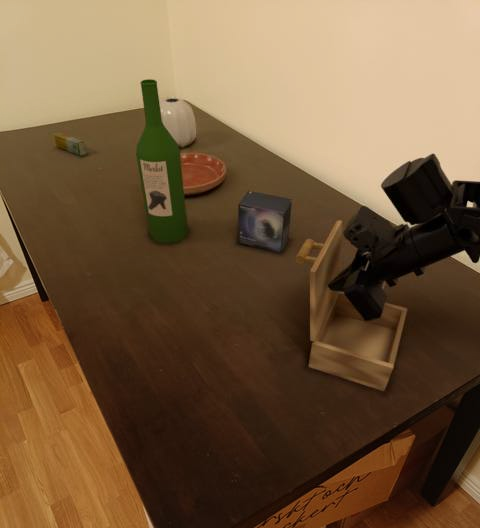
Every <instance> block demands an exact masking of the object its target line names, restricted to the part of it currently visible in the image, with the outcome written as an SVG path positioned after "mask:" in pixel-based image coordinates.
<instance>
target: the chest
mask: <svg viewBox="0 0 480 528" xmlns="http://www.w3.org/2000/svg"><path fill="white" fill-rule="evenodd" d="M407 312H408V308H407V307H403V306H400V305H397V304H396V305H395V304H392V303H388V302H385V305H384V308H383V311H382V314H381V317H380V318H378V319H375V320H372V321H369V322H367V321H365V320H364V319H363V317H362V316H361V315H360V314H359V312H358V311H357V310H356V308H355V307H354V306H353V305H352V303H351V302H350V301H349V300H348V298H347V297H346V296H345V294H344V292H340V291H337V292H336V295H335V297H334V299H333V302H332V304H331V306H330V308H329V311H328V313H327V315H326V318H325V320H324V322H323V325H322V327H321V329H320V331H319V334H318V336H317V338H316V341H315V342H313V341H312V343H311V349H310V354H309V360H308V366H307V367H308V368H310V369H314V370H317V371H320V372H323V373H325V374H328V375H332V376H335V377H339V378H341V379H344V380H348V381H350V382H354V383H356V384H360V385H362V386H366V387H369V388H372V389H375V390H378V391H381V392H385V391H386V389H387V386H388V383H389V381H390V379H391V375H392V373H393V371H394V366H395V363H396V358H397V356H398V355H397V354H398V351H399V346H400V342H401V338H402V334H403V329H404V326H405V322H406V317H407Z"/></svg>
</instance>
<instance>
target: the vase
mask: <svg viewBox="0 0 480 528" xmlns="http://www.w3.org/2000/svg"><path fill="white" fill-rule="evenodd" d="M159 103H160V110H161V118H162V123H163V125H164V126H165V128H166V129H167V130H168V132H169V133H170V134H171V136H172V137H173V138H174V140H175V141H176V142H177V144H178V147H179V149H180V148H184V147H186V146H190V145H191V144H192V143H193V142H194V140H195V139H196V138H197V124H196V118H195V113H194V110H193V108H192V106H191V105H190V104H189V103H188V102H186V100H184V99H182V98H180V97H176V96H175V97H172V96H171V97H166V98H164V99H162V100H161V101H159Z"/></svg>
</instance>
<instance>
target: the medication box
mask: <svg viewBox="0 0 480 528" xmlns="http://www.w3.org/2000/svg"><path fill="white" fill-rule="evenodd" d="M53 135H54V141H55V147H58V149H61V150H64V151H66V152H69V153H71V154H74V155H77V156H79V157H83V156H86V155H87V148H86V141H84V140H81V139H79V138H76V137H74V136H71V135H68V134H66V133H63V132H58V133H54V134H53Z"/></svg>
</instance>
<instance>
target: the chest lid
mask: <svg viewBox="0 0 480 528" xmlns="http://www.w3.org/2000/svg"><path fill="white" fill-rule="evenodd" d="M342 226H343V221H342V220H336V222H335V224H334V225H333V227H332V229H331V231H330V233H329V235H328V236H327V238H326V240H325V242H324V243H322V242H315V241H314V240H313V239H312V238H306V239H305V240H304V242H303V244H302V246H301V247H300V249H299V251H298V253H297V254H296V256H295V258H294V260H295V262H296V264H298V265H304V264H305V263H310V264H313V265H312V267H311V269H310V270H309V340H310V342H312V343H313V342H315V341H316V338H317V336H318V334H319V331H320V329H321V327H322V325H323V322H324V320H325V318H326V315H327V313H328V311H329V308H330V306H331V304H332V302H333V299H334V297H335V295H336V292H337V291H331V290H330V289H329V287H328V285H329V283H330V282H331V281H332V280H333V279H334V278H335V277H336V276H338V275H339V274H340V270H341V269H340V267H341V248H342V231H343V230H342ZM313 249H315V250H316V249H318V250H320V251H319V253H318V255H317V256H316V257H315V256H310V254H311V253H312V251H313Z"/></svg>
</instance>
